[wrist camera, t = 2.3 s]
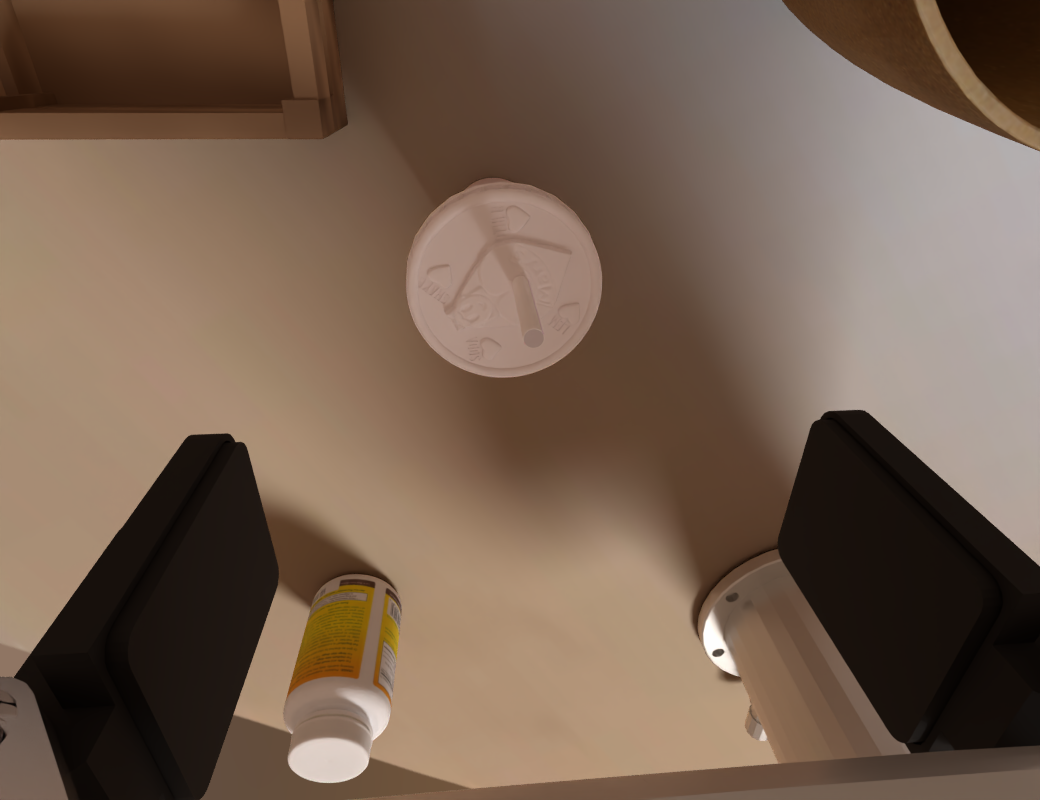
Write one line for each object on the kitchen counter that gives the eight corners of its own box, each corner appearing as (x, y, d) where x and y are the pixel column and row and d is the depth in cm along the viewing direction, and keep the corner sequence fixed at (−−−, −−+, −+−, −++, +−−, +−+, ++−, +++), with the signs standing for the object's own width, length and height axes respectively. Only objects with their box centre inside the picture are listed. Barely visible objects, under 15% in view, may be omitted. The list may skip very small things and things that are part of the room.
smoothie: (586, 243, 29) (675, 383, 16) (471, 310, 30) (474, 487, 18) (519, 114, 26) (566, 168, 13) (393, 194, 27) (334, 310, 15)
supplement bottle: (296, 604, 39) (246, 768, 30) (350, 555, 37) (314, 713, 28) (367, 641, 41) (339, 804, 32) (421, 597, 39) (408, 755, 30)
